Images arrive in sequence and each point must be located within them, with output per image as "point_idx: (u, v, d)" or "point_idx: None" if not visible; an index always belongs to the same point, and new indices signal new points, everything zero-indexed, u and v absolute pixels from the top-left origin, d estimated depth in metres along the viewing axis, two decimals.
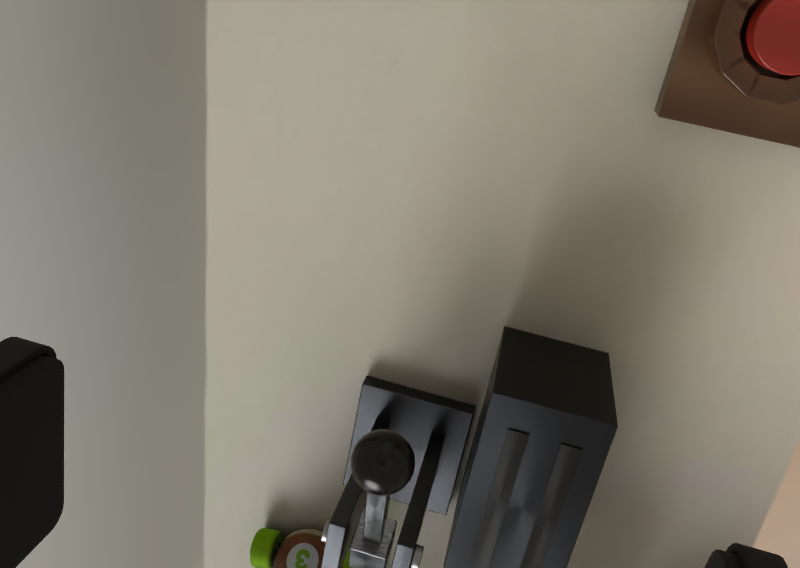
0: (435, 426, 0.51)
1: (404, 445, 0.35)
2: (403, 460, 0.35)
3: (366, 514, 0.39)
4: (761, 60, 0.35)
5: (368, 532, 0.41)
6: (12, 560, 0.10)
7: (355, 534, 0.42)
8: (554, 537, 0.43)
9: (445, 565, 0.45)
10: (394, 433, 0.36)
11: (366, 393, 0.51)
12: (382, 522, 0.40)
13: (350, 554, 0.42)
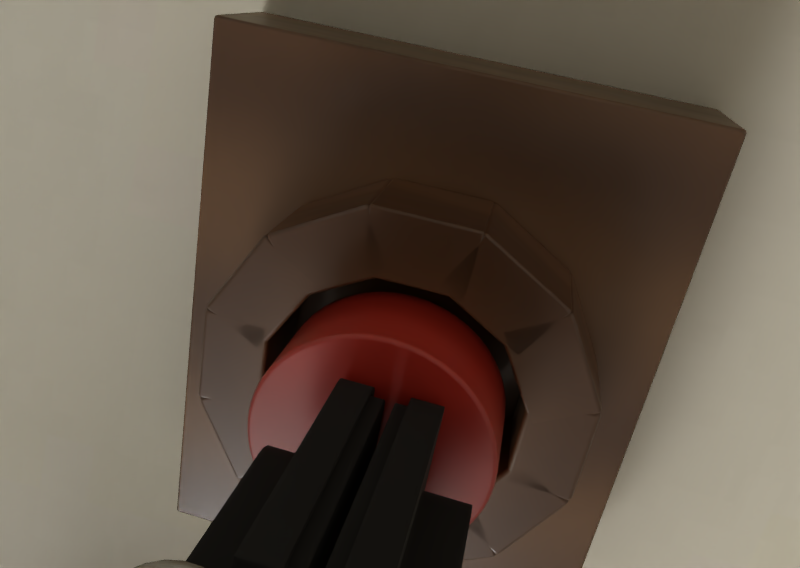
0: None
1: None
2: None
3: None
4: None
5: None
6: None
7: None
8: None
9: None
10: None
11: None
12: None
13: None
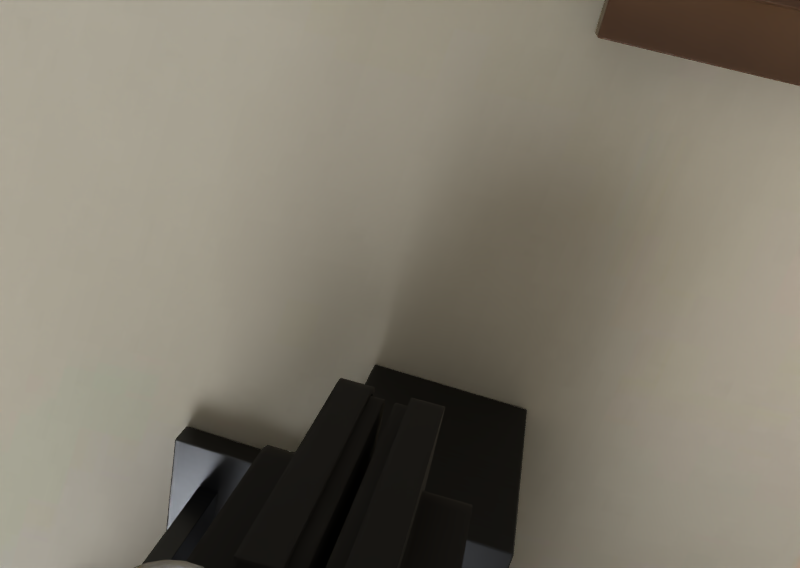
0: None
1: None
2: None
3: None
4: None
5: None
6: None
7: None
8: None
9: None
10: None
11: (182, 453, 0.35)
12: None
13: None
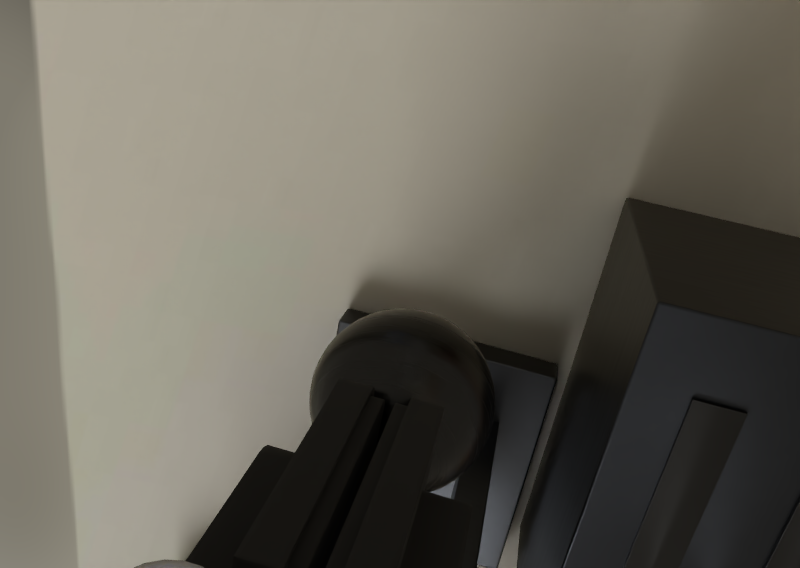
0: None
1: (469, 341, 0.12)
2: (468, 376, 0.12)
3: None
4: None
5: None
6: None
7: None
8: None
9: None
10: (437, 315, 0.13)
11: None
12: None
13: None
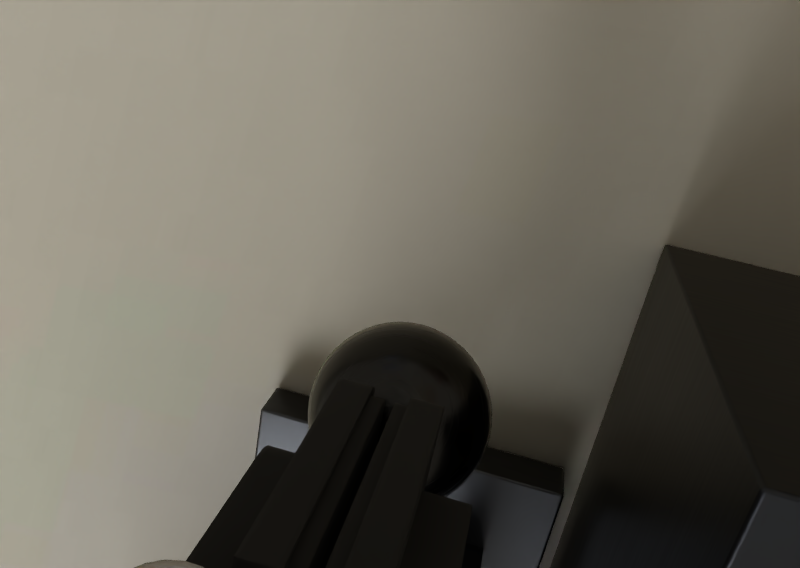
0: None
1: None
2: (473, 360, 0.12)
3: None
4: None
5: None
6: None
7: None
8: None
9: None
10: None
11: (273, 434, 0.19)
12: None
13: None
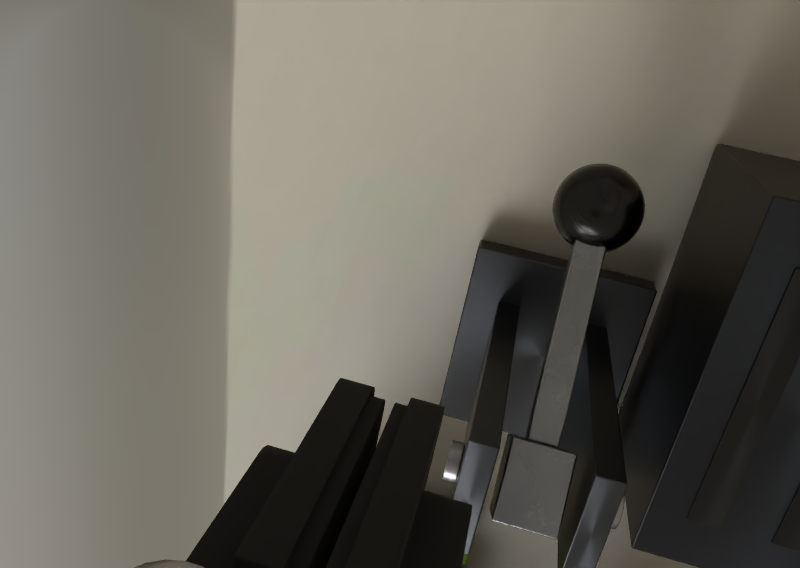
0: (592, 314, 0.33)
1: None
2: None
3: (553, 343, 0.25)
4: None
5: (544, 408, 0.25)
6: None
7: (513, 436, 0.25)
8: None
9: (642, 524, 0.27)
10: None
11: (484, 262, 0.33)
12: (577, 362, 0.25)
13: (508, 463, 0.24)
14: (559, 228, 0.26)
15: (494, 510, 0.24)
